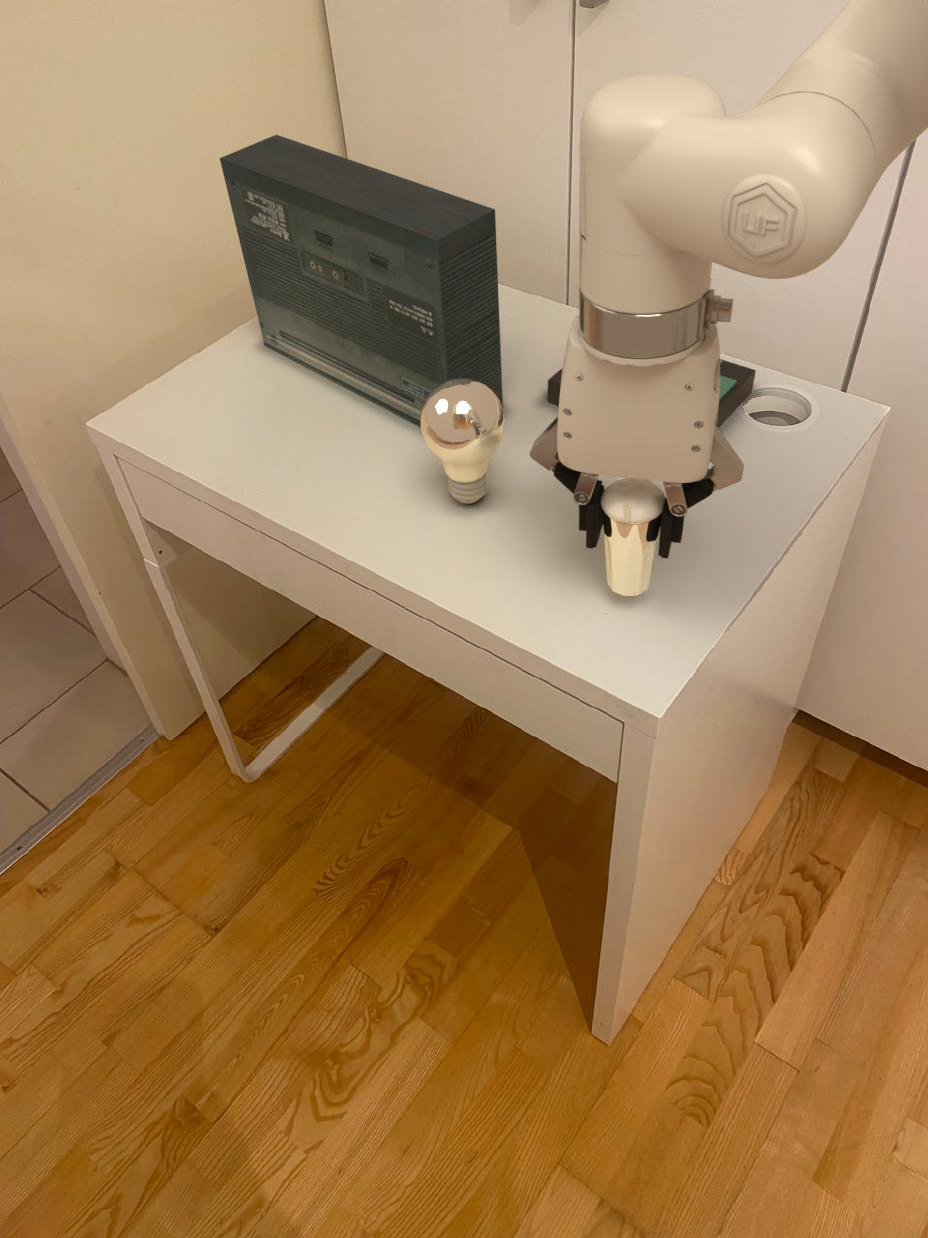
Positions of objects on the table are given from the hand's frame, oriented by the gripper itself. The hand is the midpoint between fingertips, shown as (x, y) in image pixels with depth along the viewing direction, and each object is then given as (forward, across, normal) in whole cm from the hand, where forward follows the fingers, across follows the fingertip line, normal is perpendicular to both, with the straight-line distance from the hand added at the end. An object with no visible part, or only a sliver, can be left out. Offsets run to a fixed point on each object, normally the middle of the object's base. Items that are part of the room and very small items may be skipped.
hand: (630, 539), depth 70 cm
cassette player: (+6, +31, -27) cm, 42 cm away
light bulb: (+7, +16, -10) cm, 20 cm away
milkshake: (+5, 0, 0) cm, 5 cm away
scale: (+7, +3, -29) cm, 30 cm away
